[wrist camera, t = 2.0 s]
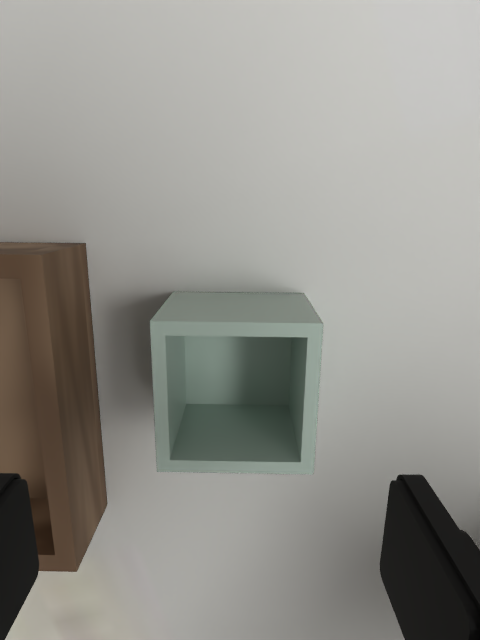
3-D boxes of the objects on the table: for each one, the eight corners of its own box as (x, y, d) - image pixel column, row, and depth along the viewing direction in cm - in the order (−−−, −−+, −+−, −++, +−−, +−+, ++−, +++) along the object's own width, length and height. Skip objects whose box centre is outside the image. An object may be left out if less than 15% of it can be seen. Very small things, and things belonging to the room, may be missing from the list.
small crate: (303, 292, 23) (323, 323, 17) (297, 410, 25) (313, 474, 19) (173, 291, 23) (149, 321, 17) (177, 409, 25) (156, 471, 19)
